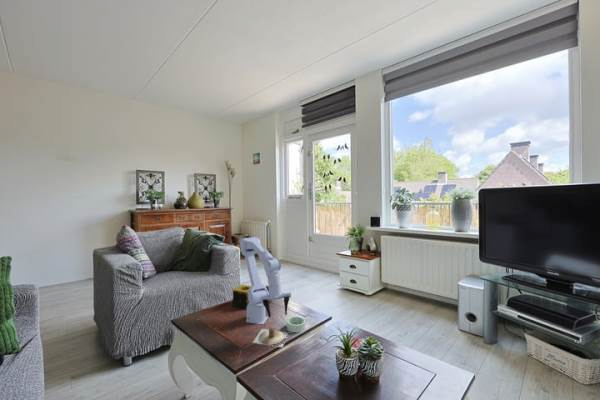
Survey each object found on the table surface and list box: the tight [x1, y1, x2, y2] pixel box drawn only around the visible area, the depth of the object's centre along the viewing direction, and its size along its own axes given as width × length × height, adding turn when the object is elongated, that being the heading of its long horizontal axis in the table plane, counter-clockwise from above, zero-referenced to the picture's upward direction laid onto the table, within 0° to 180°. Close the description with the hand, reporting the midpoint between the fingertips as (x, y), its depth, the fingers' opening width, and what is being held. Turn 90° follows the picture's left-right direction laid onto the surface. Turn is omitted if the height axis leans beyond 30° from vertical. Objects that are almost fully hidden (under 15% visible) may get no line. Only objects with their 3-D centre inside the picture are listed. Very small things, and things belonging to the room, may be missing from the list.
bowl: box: [286, 315, 306, 334], centre depth 132 cm, size 9×9×4 cm
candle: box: [231, 284, 256, 310], centre depth 157 cm, size 10×10×10 cm
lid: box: [260, 327, 284, 346], centre depth 123 cm, size 11×11×4 cm
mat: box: [252, 328, 289, 348], centre depth 124 cm, size 14×12×1 cm
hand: (277, 315), depth 124 cm, fingers open, 7 cm apart
